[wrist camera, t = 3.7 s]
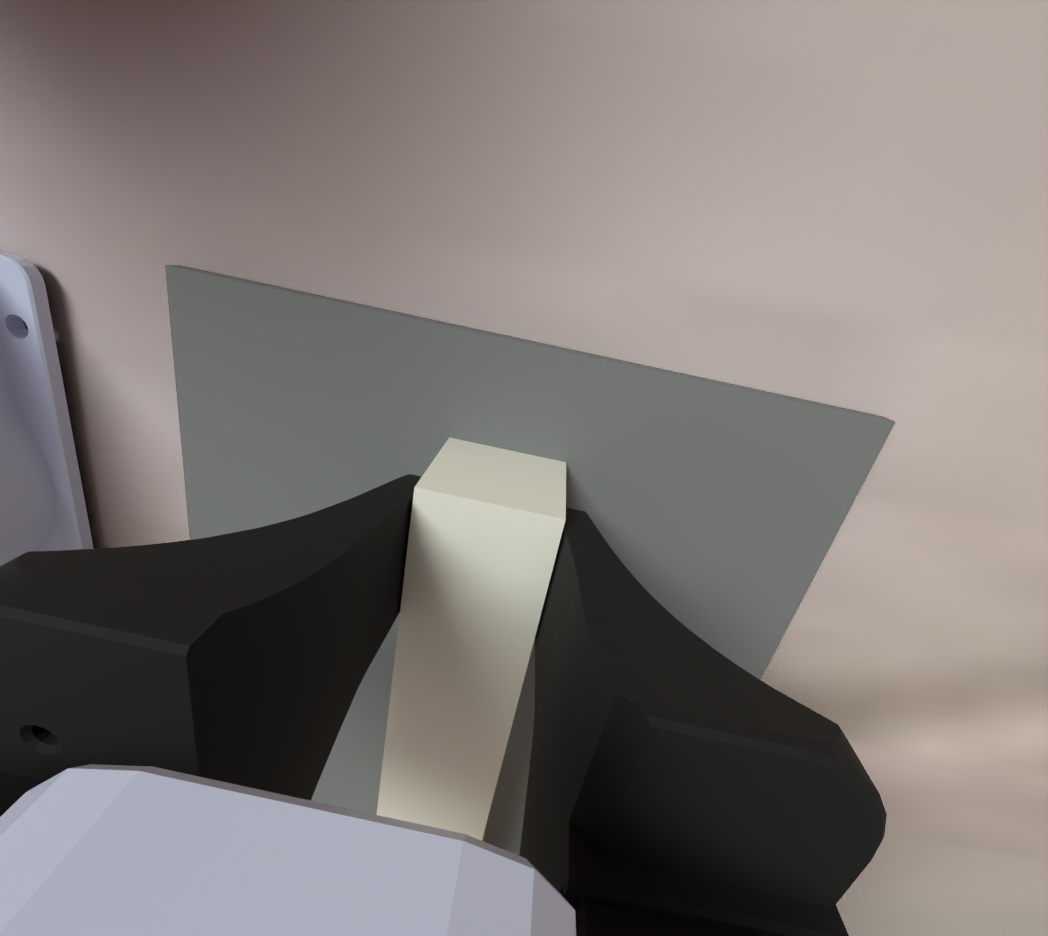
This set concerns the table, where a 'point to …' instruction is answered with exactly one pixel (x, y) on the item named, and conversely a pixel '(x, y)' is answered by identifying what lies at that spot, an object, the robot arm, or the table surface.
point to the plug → (467, 628)
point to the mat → (518, 425)
